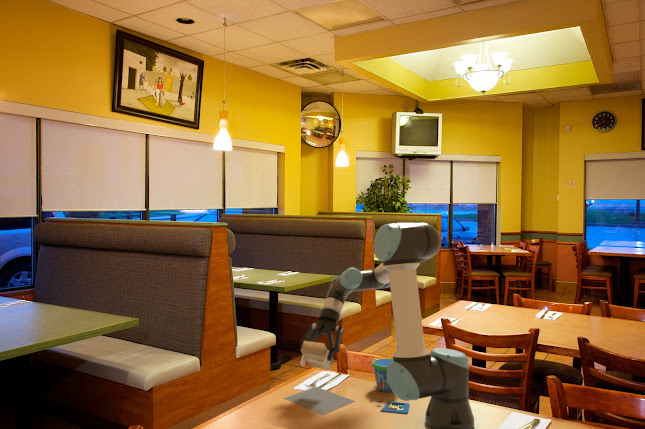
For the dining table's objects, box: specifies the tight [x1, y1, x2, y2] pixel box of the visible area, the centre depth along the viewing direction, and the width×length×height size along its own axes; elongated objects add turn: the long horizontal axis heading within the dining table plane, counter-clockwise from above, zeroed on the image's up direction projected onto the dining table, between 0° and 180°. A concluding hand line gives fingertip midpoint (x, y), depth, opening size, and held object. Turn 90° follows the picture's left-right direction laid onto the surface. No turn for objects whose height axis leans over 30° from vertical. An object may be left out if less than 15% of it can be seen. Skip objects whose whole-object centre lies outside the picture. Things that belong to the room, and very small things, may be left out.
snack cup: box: [372, 358, 394, 393], centre depth 190 cm, size 16×10×10 cm
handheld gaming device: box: [370, 400, 410, 415], centre depth 174 cm, size 8×1×15 cm
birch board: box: [300, 341, 335, 371], centre depth 184 cm, size 4×8×12 cm
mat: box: [283, 386, 356, 416], centre depth 179 cm, size 20×16×1 cm
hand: (312, 366), depth 181 cm, fingers closed on birch board, 8 cm apart
